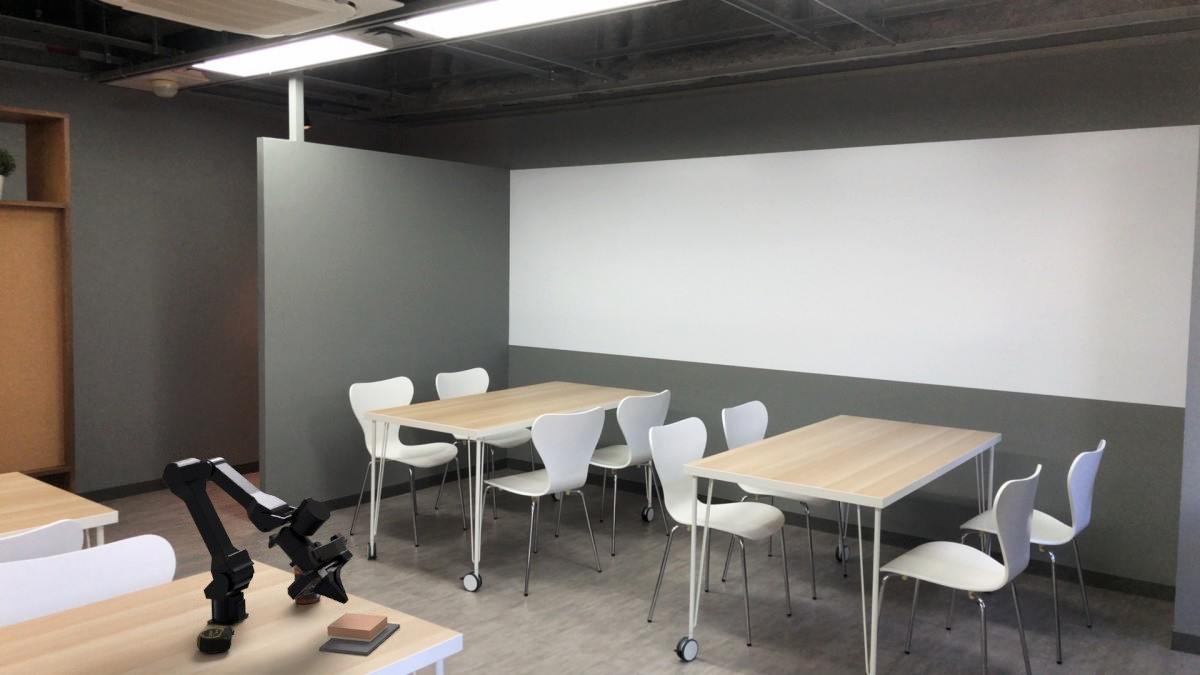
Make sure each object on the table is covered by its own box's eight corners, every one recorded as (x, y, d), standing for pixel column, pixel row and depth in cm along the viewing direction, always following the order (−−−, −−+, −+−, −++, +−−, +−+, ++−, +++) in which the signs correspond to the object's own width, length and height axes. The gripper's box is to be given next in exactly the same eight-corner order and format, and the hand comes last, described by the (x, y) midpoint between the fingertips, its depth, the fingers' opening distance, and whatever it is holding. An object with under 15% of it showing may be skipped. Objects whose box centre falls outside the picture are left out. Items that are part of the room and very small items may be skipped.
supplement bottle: (326, 599, 206) (325, 553, 206) (304, 606, 202) (303, 560, 201) (310, 594, 210) (310, 549, 209) (289, 601, 205) (288, 555, 204)
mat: (319, 650, 177) (319, 647, 177) (355, 622, 192) (355, 620, 192) (367, 655, 175) (367, 652, 175) (399, 626, 190) (399, 624, 190)
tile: (327, 626, 182) (369, 630, 180) (346, 612, 190) (387, 616, 188) (327, 637, 182) (370, 641, 180) (346, 623, 190) (387, 626, 188)
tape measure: (231, 654, 176) (230, 636, 176) (194, 658, 174) (194, 640, 174) (234, 641, 182) (234, 624, 182) (199, 645, 180) (199, 628, 180)
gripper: (299, 537, 177) (348, 593, 175) (344, 514, 195) (389, 564, 193) (266, 571, 179) (314, 627, 177) (314, 545, 197) (358, 595, 195)
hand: (346, 602), depth 185 cm, fingers closed
